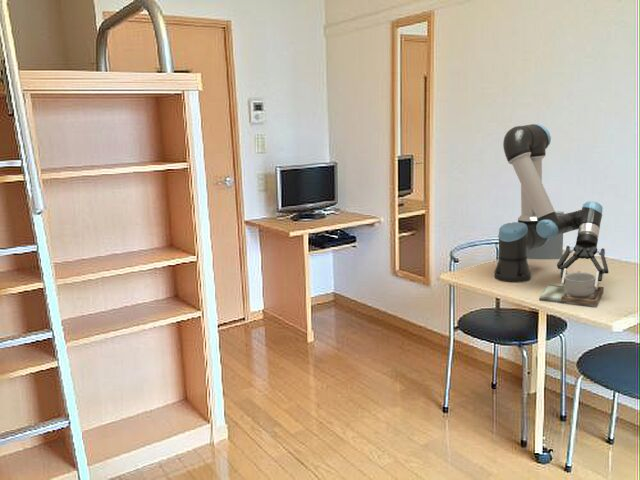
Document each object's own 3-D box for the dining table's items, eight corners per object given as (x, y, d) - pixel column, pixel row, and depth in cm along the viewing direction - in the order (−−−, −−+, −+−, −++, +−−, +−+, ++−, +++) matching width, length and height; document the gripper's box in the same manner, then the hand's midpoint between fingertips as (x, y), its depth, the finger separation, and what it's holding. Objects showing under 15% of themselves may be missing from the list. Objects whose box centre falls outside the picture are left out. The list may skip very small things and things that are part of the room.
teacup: (592, 302, 211) (593, 281, 209) (561, 298, 217) (562, 278, 215) (597, 290, 222) (598, 271, 220) (567, 287, 228) (568, 268, 226)
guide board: (539, 300, 220) (539, 294, 219) (549, 287, 234) (549, 281, 233) (596, 307, 209) (596, 301, 208) (603, 292, 223) (603, 286, 222)
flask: (524, 259, 275) (525, 208, 269) (523, 256, 279) (524, 206, 274) (563, 259, 270) (564, 207, 265) (561, 256, 275) (563, 205, 269)
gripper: (621, 244, 221) (613, 294, 212) (557, 240, 234) (548, 287, 225) (620, 234, 216) (612, 285, 207) (555, 230, 229) (545, 278, 220)
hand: (579, 286), depth 216 cm, fingers closed on teacup, 11 cm apart
